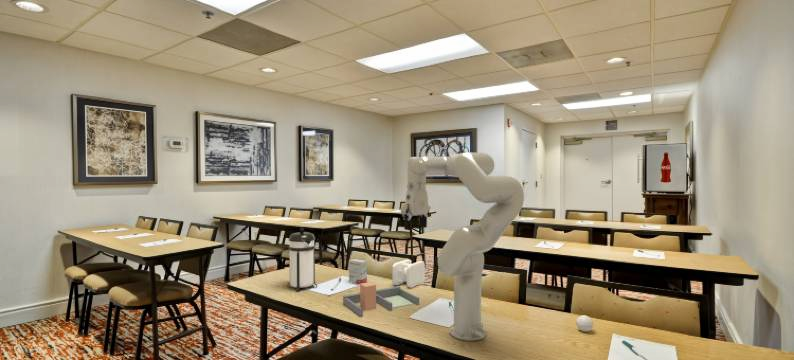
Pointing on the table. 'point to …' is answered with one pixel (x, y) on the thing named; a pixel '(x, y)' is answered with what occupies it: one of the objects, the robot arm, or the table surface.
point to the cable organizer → (408, 273)
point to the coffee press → (302, 260)
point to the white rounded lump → (584, 323)
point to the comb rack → (382, 299)
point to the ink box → (357, 271)
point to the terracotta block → (368, 296)
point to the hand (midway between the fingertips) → (415, 228)
